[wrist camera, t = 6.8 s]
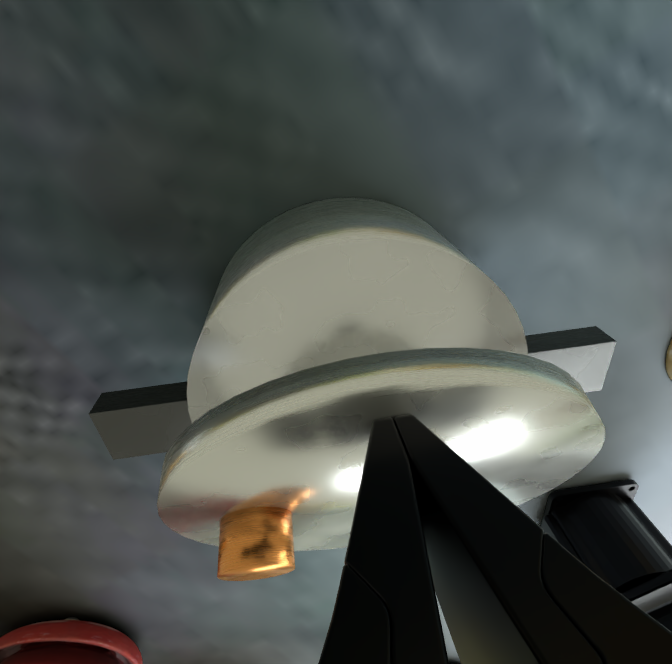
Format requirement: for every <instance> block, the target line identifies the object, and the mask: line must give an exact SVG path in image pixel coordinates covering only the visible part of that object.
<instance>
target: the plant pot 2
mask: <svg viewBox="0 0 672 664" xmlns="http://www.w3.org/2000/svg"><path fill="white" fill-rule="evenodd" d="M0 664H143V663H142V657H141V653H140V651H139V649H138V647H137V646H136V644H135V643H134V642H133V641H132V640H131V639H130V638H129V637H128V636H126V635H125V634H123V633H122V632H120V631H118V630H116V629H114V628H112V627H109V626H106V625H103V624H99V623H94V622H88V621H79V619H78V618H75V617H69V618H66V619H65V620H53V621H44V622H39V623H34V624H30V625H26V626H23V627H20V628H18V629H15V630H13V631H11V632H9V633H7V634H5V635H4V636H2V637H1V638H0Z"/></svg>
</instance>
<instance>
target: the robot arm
mask: <svg viewBox="0 0 672 664" xmlns="http://www.w3.org/2000/svg"><path fill="white" fill-rule="evenodd" d="M638 487H639V486H638V484H637V483H636V482H635V481H634V480H624V481H618V482H611V483H605V484H598V485H591V486H585V487H578V488H572V489H565V490H559V491H554V492H552V493H551V494H550V495H549V498H548V501H547V505H546V509H545V512H544V516H543V519H542V523H541V527H540V526H539V525H538V524H537V523H535V522H534V521H533V520H532V519H531V518H530V517H529V516H527V515H526V514H525V513H524V512H523V511H522V510H521V509H520V508H518V507H517V506H516V505H515V504H514V503H513V502H512V501H510V500H509V499H508V498H507V497H506V496H505V495H504V494H502V493H501V492H500V491H499V490H498V489H497V488H496V487H494V486H493V485H492V484H491V483H490V482H489V481H488V480H487V479H485V478H484V477H483V476H482V475H481V474H480V473H479V472H477V471H476V470H475V469H474V468H473V467H472V466H471V465H469V464H468V463H467V462H466V461H465V460H464V459H463V458H461V457H460V456H459V455H458V454H457V453H456V452H455V451H454V450H452V449H451V448H450V447H449V446H448V445H447V444H446V443H444V442H443V441H442V440H441V439H440V438H439V437H438V436H436V435H435V434H434V433H433V432H432V431H431V430H430V429H428V428H427V427H426V426H425V425H424V424H423V423H422V422H421V421H419V420H418V419H417V418H416V417H415V416H414V415H411V414H407V415H400V416H395V417H394V418H393V419H392V418H391V417H386V418H380V419H375V420H374V421H373V423H372V427H371V432H370V437H369V442H368V447H367V452H366V457H365V462H364V467H363V472H362V477H361V482H360V487H359V492H358V497H357V502H356V507H355V512H354V517H353V522H352V527H351V532H350V537H349V542H348V547H347V552H346V557H345V565H344V566H343V570H342V575H341V580H340V585H339V590H338V594H337V598H336V603H335V607H334V611H333V615H332V620H331V623H330V627H329V630H328V633H327V637H326V640H325V643H324V647H323V650H322V653H321V657H320V660H319V663H318V664H449V662H448V657H447V651H446V646H445V641H444V636H443V631H442V625H441V620H440V615H439V610H438V604H437V599H436V595H437V598H438V601H439V603H440V606H441V609H442V612H443V615H444V617H445V620H446V623H447V626H448V628H449V631H450V634H451V637H452V640H453V642H454V645H455V648H456V651H457V653H458V656H459V659H460V662H461V664H672V545H671V544H670V543H669V542H668V541H667V540H666V538H665V537H664V536H663V535H662V534H661V533H660V531H659V530H658V529H657V528H656V527H655V526H654V524H653V523H652V522H651V521H650V520H649V519H648V517H647V516H646V515H645V514H644V513H643V512H642V510H641V509H640V508H639V507H638V506H637V504H636V503H635V502H634V501H633V499H634V497H635V494H636V492H637V490H638ZM435 592H436V594H435Z"/></svg>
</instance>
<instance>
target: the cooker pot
mask: <svg viewBox="0 0 672 664" xmlns="http://www.w3.org/2000/svg"><path fill="white" fill-rule="evenodd" d="M616 342H617V341H615V340H614V339H613V338H611V337H610V336H609V335H607V334H606V333H605V332H603V331H602V330H600V329H599V328H598V327H596V326H594V327H587V328H579V329H572V330H565V331H557V332H550V333H542V334H535V335H528V336H525V334H524V329H523V327H522V324H521V322H520V320H519V317H518V315H517V312H516V311H515V309H514V307H513V306H512V304H511V303H510V301H509V300H508V298H507V297H506V295H505V294H504V293H503V292H502V291H501V290H500V289H499V287H498V286H497V285H496V284H495V283H494V282H493V281H492V280H491V279H490V278H489V277H488V276H487V275H486V274H484V273H483V272H482V271H481V270H480V269H479V268H478V267H477V266H475V265H474V264H473V263H472V262H471V261H470V260H469V259H468V258H467V257H465V256H464V255H463V254H462V253H461V252H460V251H459V250H458V249H457V248H455V247H454V246H453V245H452V244H451V243H450V242H449V241H448V240H447V239H445V238H444V237H443V236H442V235H441V234H440V233H439V232H438V231H436V230H435V229H434V228H433V227H432V226H430V225H429V224H428V223H426V222H425V221H424V220H423V219H421V218H420V217H418V216H416V215H414V214H413V213H411V212H409V211H407V210H405V209H403V208H400V207H397V206H395V205H392V204H390V203H386V202H382V201H377V200H373V199H365V198H353V197H348V198H331V199H325V200H320V201H315V202H311V203H308V204H305V205H302V206H299V207H296V208H293V209H291V210H289V211H287V212H285V213H283V214H281V215H279V216H277V217H275V218H274V219H272V220H271V221H269V222H268V223H266V224H265V225H263V226H262V227H260V228H259V229H258V230H257V231H256V232H255V233H253V234H252V235H251V236H250V237H249V238H248V239H247V240H246V241H245V242H244V243H243V244H242V246H241V247H240V248H239V249H238V250H237V252H236V253H235V254H234V256H233V257H232V259H231V261H230V262H229V264H228V265H227V267H226V269H225V271H224V273H223V276H222V278H221V280H220V283H219V285H218V288H217V291H216V293H215V296H214V299H213V302H212V304H211V307H210V310H209V312H208V315H207V318H206V320H205V323H204V326H203V329H202V331H201V334H200V337H199V339H198V342H197V345H196V348H195V350H194V353H193V356H192V360H191V364H190V368H189V372H188V382H180V383H173V384H165V385H158V386H151V387H143V388H136V389H128V390H121V391H114V392H106V393H102V394H101V395H100V397H99V398H98V400H97V402H96V403H95V405H94V406H93V408H92V410H91V411H90V413H89V415H90V417H91V419H92V421H93V423H94V425H95V426H96V428H97V430H98V432H99V434H100V436H101V437H102V439H103V441H104V443H105V445H106V447H107V449H108V450H109V452H110V454H111V456H112V458H113V460H114V459H121V458H128V457H135V456H142V455H149V454H156V453H163V452H168V450H169V448H170V447H171V445H172V443H173V442H174V440H175V439H176V438H177V437H178V436H179V435H180V434H181V433H182V432H183V431H184V430H185V429H186V428H187V427H188V426H189V425H190V424H192V423H193V422H194V421H196V420H197V419H198V418H200V417H201V416H202V415H204V414H205V413H206V412H208V411H209V410H211V409H213V408H215V407H216V406H218V405H220V404H222V403H223V402H225V401H227V400H229V399H231V398H232V397H234V396H236V395H238V394H241V393H243V392H245V391H248V390H250V389H252V388H254V387H257V386H259V385H261V384H264V383H266V382H268V381H271V380H274V379H277V378H280V377H283V376H286V375H289V374H292V373H295V372H298V371H301V370H304V369H308V368H312V367H316V366H320V365H324V364H328V363H332V362H336V361H340V360H344V359H349V358H355V357H361V356H366V355H372V354H378V353H384V352H392V351H402V350H413V349H423V348H478V349H491V350H501V351H507V352H512V353H517V354H523V355H528V356H531V357H534V358H537V359H540V360H543V361H546V362H549V363H552V364H554V365H555V366H557V367H559V368H561V369H563V370H564V371H566V372H568V373H569V374H570V375H571V376H572V377H573V378H574V379H575V380H576V381H578V382H579V383H580V385H581V387H582V388H583V390H584V392H592V391H599V390H602V386H603V383H604V380H605V377H606V374H607V371H608V367H609V364H610V361H611V358H612V355H613V351H614V348H615V345H616Z"/></svg>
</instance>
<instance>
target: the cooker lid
mask: <svg viewBox="0 0 672 664" xmlns="http://www.w3.org/2000/svg"><path fill="white" fill-rule="evenodd" d="M407 414H411V415H414V416H415V417H416V418H417V419H418V420H419V421H421V422H422V423H423V424H424V425H425V426H426V427H427V428H428V429H430V430H431V431H432V432H433V433H434V434H435V435H436V436H438V437H439V438H440V439H441V440H442V441H443V442H444V443H446V444H447V445H448V446H449V447H450V448H451V449H452V450H454V451H455V452H456V453H457V454H458V455H459V456H460V457H461V458H463V459H464V460H465V461H466V462H467V463H468V464H469V465H471V466H472V467H473V468H474V469H475V470H476V471H477V472H479V473H480V474H481V475H482V476H483V477H484V478H485V479H487V480H488V481H489V482H490V483H491V484H492V485H493V486H494V487H496V488H497V489H498V490H499V491H500V492H501V493H502V494H504V495H505V496H506V497H507V498H508V499H509V500H510V501H512V502H513V503H514V504H515V505H516V506H518V505H520V504H523V503H525V502H527V501H529V500H532V499H534V498H536V497H538V496H540V495H542V494H544V493H546V492H548V491H550V490H552V489H554V488H555V487H557V486H559V485H561V484H562V483H564V482H565V481H567V480H569V479H570V478H572V477H573V476H574V475H576V474H577V473H578V472H580V471H581V470H582V469H584V468H585V467H586V466H587V465H588V464H589V463H590V462H591V461H592V460H593V459H594V458H595V456H596V455H597V454H598V452H599V451H600V450H601V448H602V445H603V443H604V440H605V427H604V425H603V423H602V421H601V419H600V417H599V415H598V414H597V412H596V410H595V409H594V407H593V405H592V404H591V402H590V400H589V399H588V397H587V395H586V394H585V392H584V390H583V388H582V387H581V385H580V383H579V382H578V381H576V380H575V379H574V378H573V377H572V376H571V375H570V374H569V373H568V372H566V371H564V370H563V369H561V368H559V367H557V366H555V365H554V364H552V363H549V362H546V361H543V360H540V359H537V358H534V357H531V356H528V355H523V354H517V353H512V352H507V351H501V350H491V349H478V348H423V349H413V350H402V351H392V352H384V353H378V354H372V355H366V356H361V357H355V358H349V359H344V360H340V361H336V362H332V363H328V364H324V365H320V366H316V367H312V368H308V369H304V370H301V371H298V372H295V373H292V374H289V375H286V376H283V377H280V378H277V379H274V380H271V381H268V382H266V383H264V384H261V385H259V386H257V387H254V388H252V389H250V390H248V391H245V392H243V393H241V394H238V395H236V396H234V397H232V398H231V399H229V400H227V401H225V402H223V403H222V404H220V405H218V406H216V407H215V408H213V409H211V410H209V411H208V412H206V413H205V414H204V415H202V416H201V417H200V418H198V419H197V420H196V421H194V422H193V423H192V424H190V425H189V426H188V427H187V428H186V429H185V430H184V431H183V432H182V433H181V434H180V435H179V436H178V437H177V438H176V439H175V440H174V442H173V443H172V445H171V447H170V448H169V450H168V452H167V453H166V455H165V459H164V463H163V467H162V474H161V481H160V488H159V495H158V502H157V507H158V514H159V516H160V518H161V519H162V521H163V522H164V524H166V525H167V526H168V527H169V528H170V529H172V530H173V531H175V532H177V533H178V534H180V535H182V536H184V537H187V538H190V539H192V540H195V541H198V542H202V543H206V544H210V545H214V546H219V555H218V575H217V577H218V578H219V579H221V580H227V581H245V580H256V579H263V578H269V577H274V576H278V575H282V574H286V573H288V572H291V571H293V570H294V569H295V559H294V551H309V550H325V549H336V548H346V547H348V542H349V537H350V532H351V527H352V522H353V517H354V512H355V507H356V502H357V497H358V492H359V487H360V482H361V477H362V472H363V467H364V462H365V457H366V452H367V447H368V442H369V437H370V432H371V427H372V423H373V421H374V420H375V419H380V418H386V417H391V418H392V419H393V418H394V417H395V416H400V415H407Z"/></svg>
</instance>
